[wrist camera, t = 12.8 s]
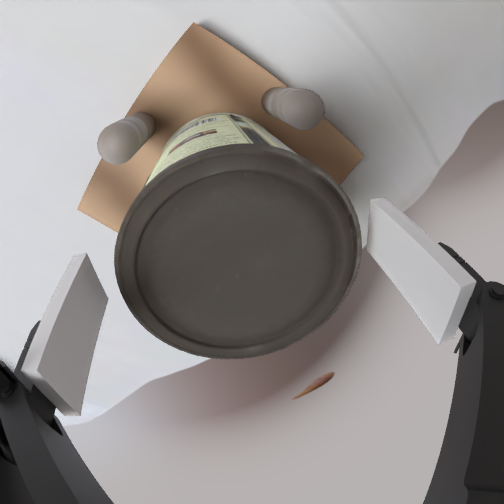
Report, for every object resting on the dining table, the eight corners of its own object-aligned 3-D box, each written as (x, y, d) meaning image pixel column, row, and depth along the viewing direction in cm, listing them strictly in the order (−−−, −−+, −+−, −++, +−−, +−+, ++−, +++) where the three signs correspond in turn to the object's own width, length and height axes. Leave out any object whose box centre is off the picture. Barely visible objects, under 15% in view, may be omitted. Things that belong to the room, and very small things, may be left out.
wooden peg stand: (194, 25, 19) (190, -2, 12) (358, 152, 26) (409, 181, 19) (81, 203, 25) (45, 250, 18) (240, 290, 32) (252, 350, 25)
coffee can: (228, 252, 28) (251, 383, 16) (133, 186, 24) (74, 295, 12) (309, 168, 25) (401, 256, 13) (215, 85, 20) (230, 82, 8)
